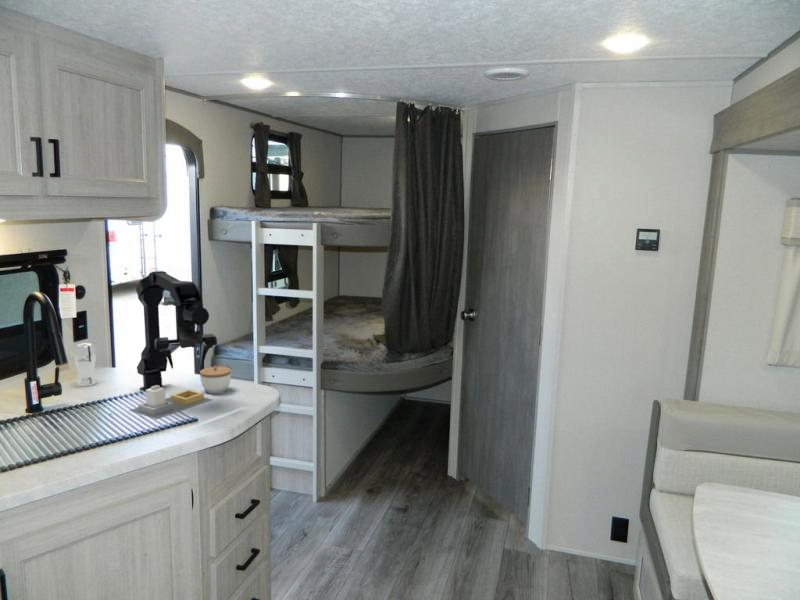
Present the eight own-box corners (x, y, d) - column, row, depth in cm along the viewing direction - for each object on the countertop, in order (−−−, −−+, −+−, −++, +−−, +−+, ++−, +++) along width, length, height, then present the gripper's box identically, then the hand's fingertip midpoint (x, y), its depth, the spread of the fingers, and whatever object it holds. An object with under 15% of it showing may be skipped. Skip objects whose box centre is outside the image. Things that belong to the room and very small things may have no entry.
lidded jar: (212, 397, 199) (211, 372, 197) (194, 391, 205) (193, 366, 204) (237, 390, 207) (236, 365, 206) (219, 384, 213) (219, 360, 212)
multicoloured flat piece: (129, 413, 182) (128, 404, 182) (186, 395, 201) (186, 386, 201) (156, 422, 175) (156, 412, 175) (213, 402, 194) (213, 394, 193)
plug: (146, 410, 182) (145, 386, 181) (157, 407, 186) (156, 383, 184) (154, 413, 180) (153, 388, 179) (165, 409, 184) (164, 385, 182)
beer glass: (81, 381, 215) (78, 342, 213) (100, 380, 216) (97, 342, 213) (72, 386, 208) (69, 347, 206) (92, 386, 209) (90, 346, 206)
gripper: (155, 327, 174) (158, 376, 176) (219, 323, 182) (220, 370, 184) (153, 320, 184) (155, 367, 186) (213, 317, 192) (215, 361, 194)
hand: (187, 366), depth 187 cm, fingers open, 9 cm apart
